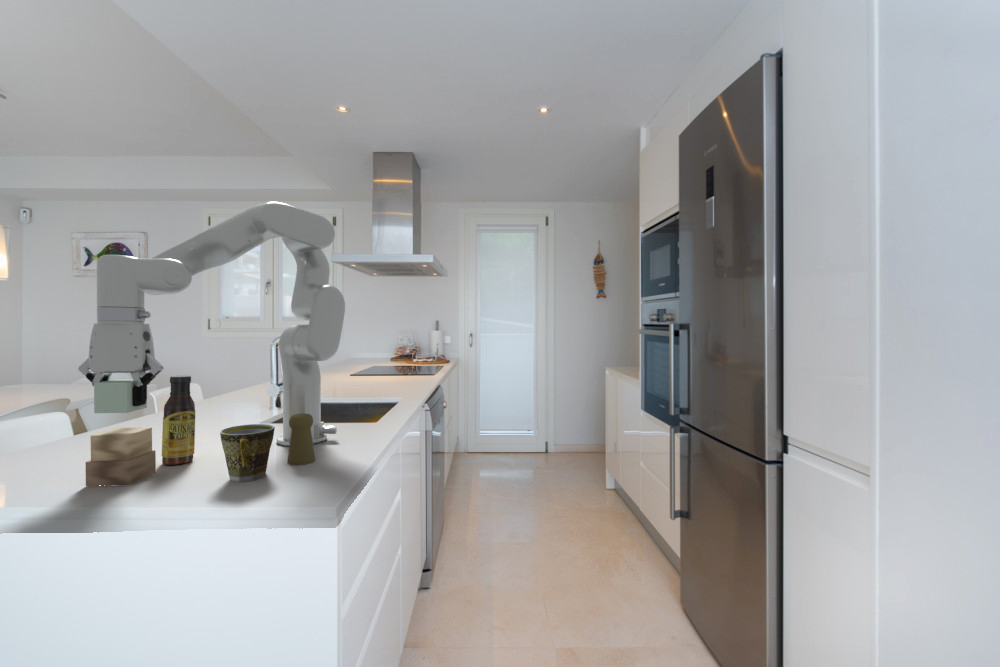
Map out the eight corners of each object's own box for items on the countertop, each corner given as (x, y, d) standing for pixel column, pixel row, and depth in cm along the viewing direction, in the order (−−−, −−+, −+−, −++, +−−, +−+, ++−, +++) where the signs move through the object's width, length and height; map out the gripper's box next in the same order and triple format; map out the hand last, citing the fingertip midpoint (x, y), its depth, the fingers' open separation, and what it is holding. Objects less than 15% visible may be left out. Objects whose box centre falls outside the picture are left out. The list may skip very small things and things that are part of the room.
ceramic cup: (225, 472, 101) (225, 425, 101) (276, 467, 104) (276, 422, 104) (212, 492, 89) (212, 439, 88) (271, 486, 92) (271, 435, 92)
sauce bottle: (167, 468, 104) (166, 378, 103) (157, 463, 107) (156, 376, 107) (200, 461, 109) (199, 375, 109) (189, 456, 113) (189, 373, 112)
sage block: (146, 407, 99) (146, 379, 99) (127, 412, 93) (126, 382, 93) (116, 408, 98) (115, 379, 98) (94, 413, 92) (94, 382, 92)
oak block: (152, 450, 100) (151, 427, 100) (128, 460, 93) (127, 435, 93) (117, 451, 99) (117, 427, 99) (90, 460, 92) (90, 435, 92)
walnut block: (155, 473, 100) (155, 450, 100) (129, 486, 92) (128, 461, 92) (115, 474, 100) (115, 451, 100) (85, 487, 92) (85, 462, 92)
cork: (320, 458, 112) (319, 411, 112) (307, 465, 106) (307, 416, 106) (295, 457, 112) (295, 411, 112) (281, 464, 106) (281, 416, 106)
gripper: (177, 317, 100) (177, 402, 100) (89, 316, 98) (90, 402, 99) (154, 316, 93) (155, 408, 93) (59, 316, 91) (60, 409, 91)
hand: (121, 404), depth 96 cm, fingers closed on sage block, 6 cm apart
